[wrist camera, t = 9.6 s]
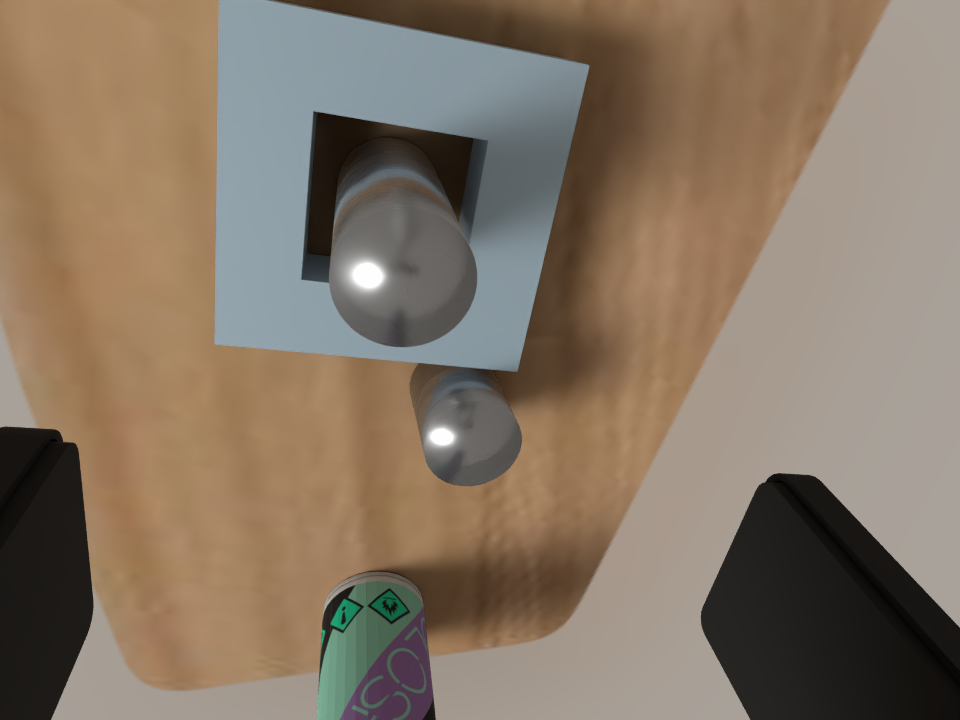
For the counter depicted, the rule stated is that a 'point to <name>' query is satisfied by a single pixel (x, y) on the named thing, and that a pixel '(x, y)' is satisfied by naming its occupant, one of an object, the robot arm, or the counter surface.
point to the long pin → (398, 248)
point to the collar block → (393, 100)
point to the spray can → (375, 651)
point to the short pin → (464, 423)
